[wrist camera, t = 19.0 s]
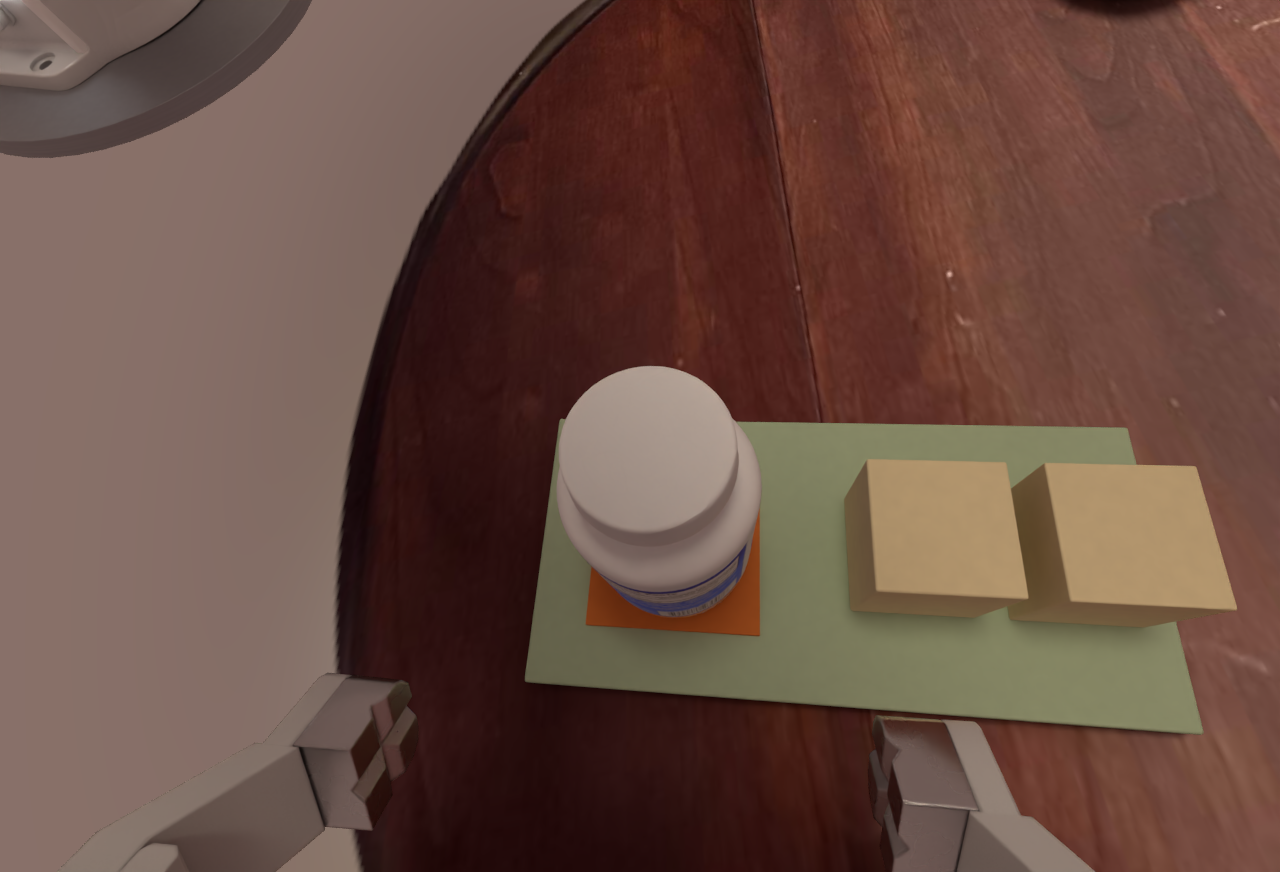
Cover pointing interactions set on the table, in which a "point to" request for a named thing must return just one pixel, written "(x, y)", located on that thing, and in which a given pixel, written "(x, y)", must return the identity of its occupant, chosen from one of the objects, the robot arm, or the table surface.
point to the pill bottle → (659, 489)
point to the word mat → (865, 642)
